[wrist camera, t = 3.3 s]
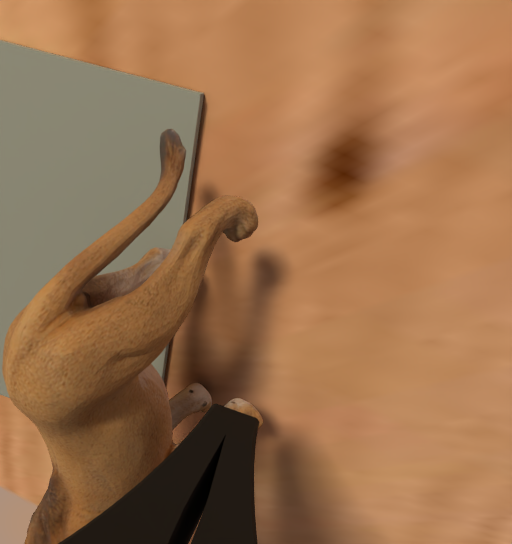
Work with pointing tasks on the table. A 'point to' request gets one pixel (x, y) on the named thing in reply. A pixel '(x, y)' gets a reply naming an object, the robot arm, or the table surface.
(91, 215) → the mat
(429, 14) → the table surface
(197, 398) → the lion figurine
